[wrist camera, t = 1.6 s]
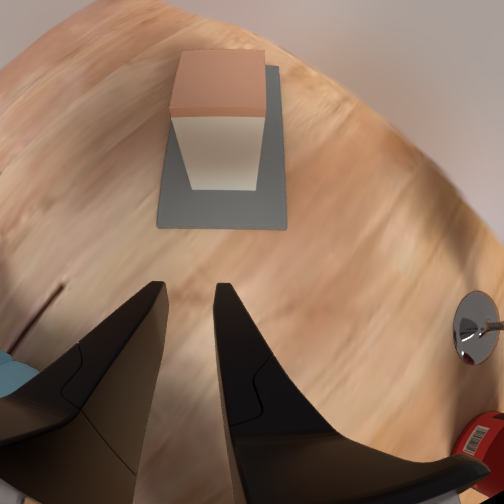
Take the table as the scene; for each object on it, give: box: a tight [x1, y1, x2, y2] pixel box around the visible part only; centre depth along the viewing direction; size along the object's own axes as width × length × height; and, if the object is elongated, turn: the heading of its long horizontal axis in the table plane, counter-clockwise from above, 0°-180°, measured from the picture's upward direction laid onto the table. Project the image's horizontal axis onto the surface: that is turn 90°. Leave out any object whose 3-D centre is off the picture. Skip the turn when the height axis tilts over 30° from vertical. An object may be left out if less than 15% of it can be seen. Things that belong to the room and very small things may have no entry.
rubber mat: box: [157, 65, 287, 230], centre depth 26 cm, size 18×10×1 cm, turn 0°
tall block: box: [169, 49, 266, 191], centre depth 20 cm, size 5×5×10 cm
